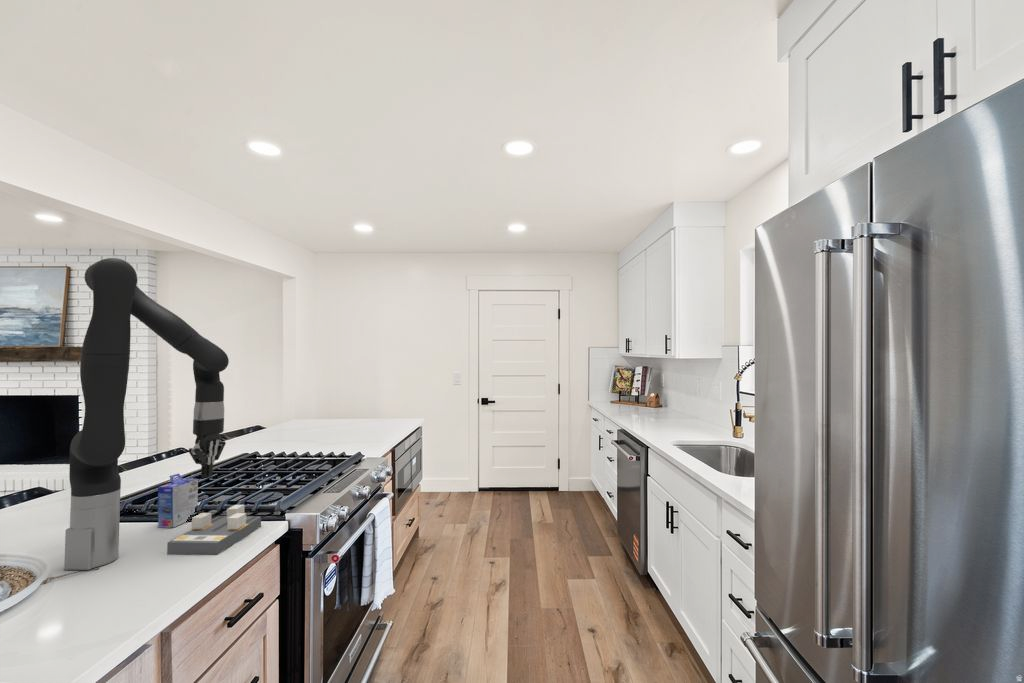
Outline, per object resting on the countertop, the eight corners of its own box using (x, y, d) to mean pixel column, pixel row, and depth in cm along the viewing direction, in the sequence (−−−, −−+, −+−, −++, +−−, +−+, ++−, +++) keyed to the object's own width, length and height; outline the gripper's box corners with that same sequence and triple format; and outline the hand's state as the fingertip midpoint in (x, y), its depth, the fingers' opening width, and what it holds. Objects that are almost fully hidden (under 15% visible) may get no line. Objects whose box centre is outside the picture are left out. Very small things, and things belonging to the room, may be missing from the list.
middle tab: (236, 519, 135) (236, 509, 136) (226, 519, 135) (226, 509, 136) (244, 514, 139) (244, 504, 140) (235, 514, 139) (235, 504, 140)
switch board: (218, 554, 119) (218, 542, 119) (166, 554, 119) (166, 542, 120) (261, 526, 139) (262, 516, 139) (217, 526, 139) (217, 515, 140)
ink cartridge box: (182, 516, 148) (183, 470, 148) (198, 517, 147) (199, 471, 148) (155, 527, 138) (157, 478, 139) (172, 528, 138) (174, 479, 138)
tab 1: (201, 528, 128) (201, 517, 128) (191, 528, 128) (191, 517, 128) (211, 523, 132) (211, 512, 132) (201, 523, 132) (201, 512, 132)
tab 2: (237, 529, 128) (237, 518, 128) (227, 529, 128) (227, 517, 128) (245, 523, 132) (246, 513, 132) (236, 523, 132) (236, 513, 132)
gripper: (211, 414, 142) (209, 471, 141) (179, 419, 129) (176, 483, 128) (235, 414, 142) (233, 472, 141) (205, 420, 129) (203, 483, 128)
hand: (206, 477), depth 135 cm, fingers closed
